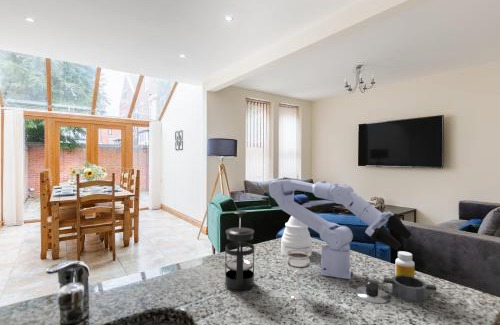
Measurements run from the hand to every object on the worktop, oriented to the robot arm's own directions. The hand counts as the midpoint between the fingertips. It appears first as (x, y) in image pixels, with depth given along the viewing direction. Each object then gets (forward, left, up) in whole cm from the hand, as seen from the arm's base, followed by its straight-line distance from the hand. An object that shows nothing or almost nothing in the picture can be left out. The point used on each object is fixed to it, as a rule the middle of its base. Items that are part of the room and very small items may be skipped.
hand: (404, 242), depth 81 cm
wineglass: (-29, -13, -15) cm, 35 cm away
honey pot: (-37, +23, -15) cm, 46 cm away
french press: (-47, -14, -15) cm, 51 cm away
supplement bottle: (+1, +7, -15) cm, 17 cm away
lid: (-9, -5, -15) cm, 19 cm away
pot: (+1, -1, -15) cm, 15 cm away
